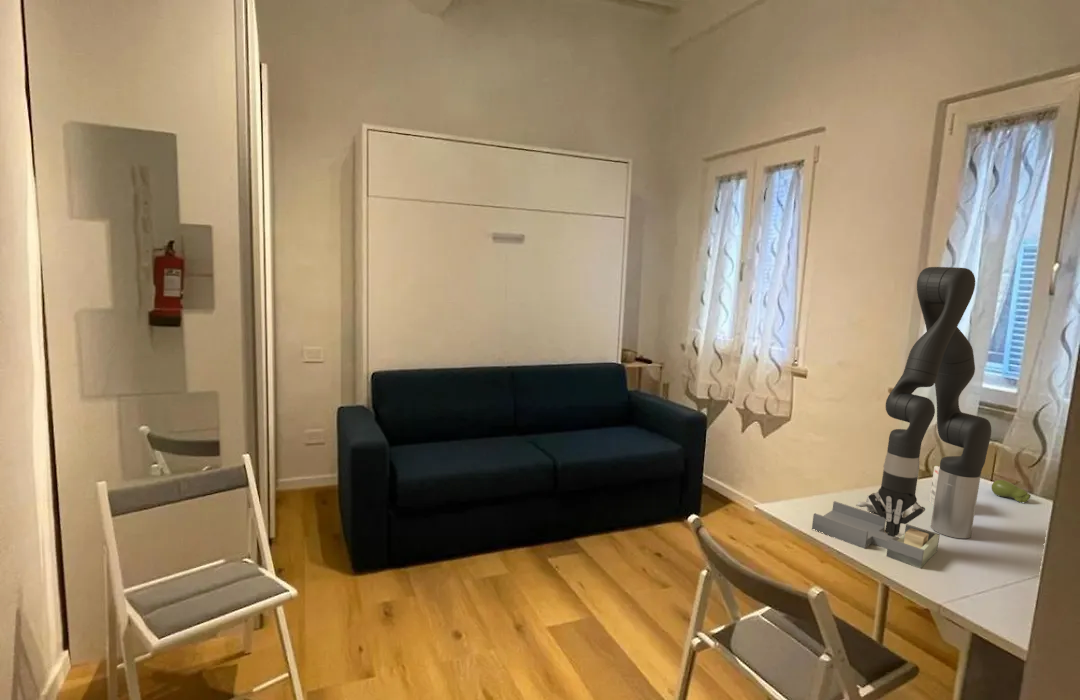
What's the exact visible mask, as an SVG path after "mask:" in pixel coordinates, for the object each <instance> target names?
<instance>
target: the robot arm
mask: <svg viewBox="0 0 1080 700" xmlns="http://www.w3.org/2000/svg"><path fill="white" fill-rule="evenodd" d="M975 277H976V276H975V274H974V273H973V270H971V269H969V268H967V267H952V266H950V267H949V266H948V267H945V266H930V267H925V268H923V269H922V270H921V272H920V273H919V274H918V277H917V279H916V294H917V298H918V302H919V307H920V310H921V313H922V317H923V320H924V324H925V328H926V332H924V334H922V336H920V337H919V338H918V340H917V341H916V342H915V343H914V344H913V345H912V347H911V349H910V351H909V353H908V357H907V360H906V362H905V367H904V369H903V373H902V375H901V376H900V377H899V379H898V381H897V382H896V384H895V386H894V387H893V388H892V390H891V392H890V393H888V396H887V398H886V399H885V400H886V401H885V412H886V413H887V415H888V417H890V418H892V419H895V420H899V421H902V422H907V423H909V425H908V427H907V428H906V429H903V428H898V429H897V428H896V429H893V430H891V431H890V432H889V437H888V442H887V443H888V444H887V450H886V455H885V459H884V463H883V471H882V479H881V486H880V488H879V489H878V491H877V492H872V493H870V494H868V495H869V499H870V501H871V502H872V504H873V506H874V507H875V509H876V511H877V512H878V514H877V515H879V516H880V517H884V518H885V519H886V522H885V529H884V532H885V533H887V534H888V535H889V536H892V537H895V536H896V537H898V535H899V533H900V530H901V525H902V524H904V525H906V524H908V523H910V522H911V521H913V520H914V519H916V518H917V517H919V516H921V515H922V514H923V513H924V512H925V511H926V507H925V506H921V505H920V504H919V503H918V502H917V501H918V498H917V497H916V491H917V487H918V486H917V485H918V484H917V483H918V480H919V479H918V477H919V472H920V456H921V449H922V442H923V440H924V438H925V436H926V433H927V431H928V429H929V426H930V424H931V423H932V422H933V419H934V416H935V414H936V426H937V433H938V436H939V438H940V439H941V441H942V442H944V443H946V444H948V445H952V446H955V447H958V448H962V453H961V455H959V456H958V455H953V456H952V455H951V456H944V457H942V458H941V459H940V462H939V466H940V468H939V474H938V481H937V488H936V494H935V501H934V505H933V510H932V515H931V523H930V527H931V529H932V530H933V531H934V532H935V533H936V532H937V534H940V535H944V536H946V537H951V538H955V539H969V538H971V536H972V532H973V530H972V529H973V525H974V518H975V513H976V508H977V506H976V505H977V499H978V495H979V489H980V482H981V476H982V471H983V468H984V467H985V464H986V458H987V454H988V450H989V446H990V442H991V437H992V425H991V423H990V421H989V419H987V418H985V417H983V416H978V415H974V414H970V413H966V412H962V411H961V409H960V404H959V401H960V396H961V394H962V392H963V391H964V390H965V388H967V386H968V385H969V383H970V382H971V380H972V379H973V377H974V375H975V372H976V365H975V357H974V355H975V354H974V351H973V350H974V349H973V347H972V344H971V343H970V341H969V339H968V338H967V337H966V335H965V334H964V333H963V332H962V331H961V329H959V326H958V325H959V324H960V321H961V320H962V318H963V316H964V314H965V313H966V311H967V308H968V306H969V304H970V302H971V300H972V298H973V295H974V292H975V288H976V278H975ZM933 386H934V389H935V396H936V398H935V399H936V409H935V404H934V402H933V401H932V400H931V399H930V398H928V397H926V396H921V395H917V394H914V392H915V391H916V390H917V389H918V388H931V387H933ZM935 412H936V413H935ZM880 497H881V498H880ZM881 499H882V501H883V502H884V504H885V505H886V510H885V508H884V506H883V505H882V503H881V501H880V500H881ZM912 506H913V507H912ZM911 507H912V509H911V511H912V512H911V513H909V514H908V515H906V516H904V513H905V511H907V510H908V509H909V508H911Z"/></svg>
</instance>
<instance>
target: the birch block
mask: <svg viewBox="0 0 1080 700" xmlns="http://www.w3.org/2000/svg"><path fill="white" fill-rule="evenodd" d="M904 534H905V539H904V543H905V544H908V545H911V546H914V547H917V548H920V549H921V548H922V547H923V546H924V545H925V544H926V543H927V542H928V536H929V534H928V533H925V532H922V531H919V530H915V529H912V528H910V529H909V530H908V531H906V532H905V531H904Z"/></svg>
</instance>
